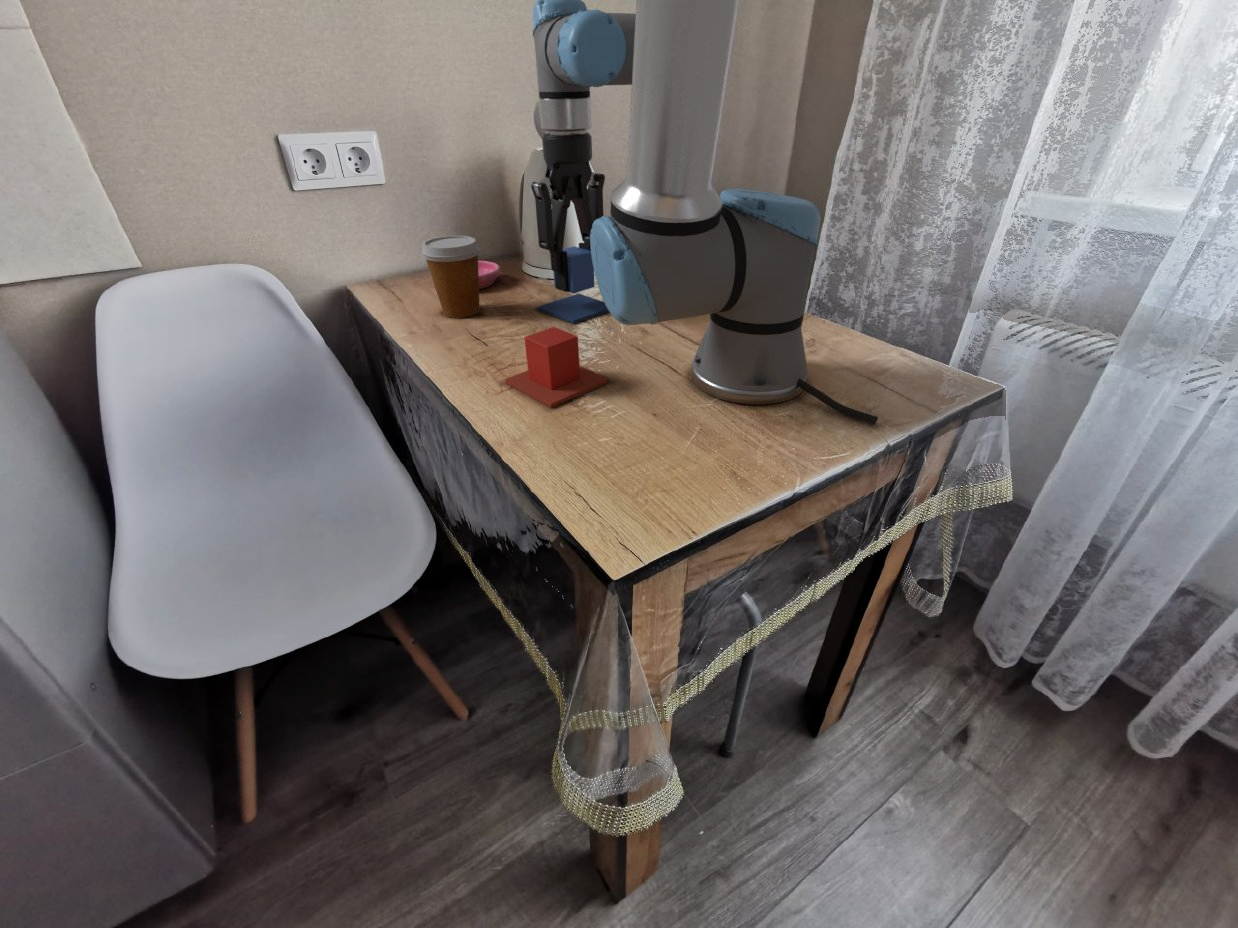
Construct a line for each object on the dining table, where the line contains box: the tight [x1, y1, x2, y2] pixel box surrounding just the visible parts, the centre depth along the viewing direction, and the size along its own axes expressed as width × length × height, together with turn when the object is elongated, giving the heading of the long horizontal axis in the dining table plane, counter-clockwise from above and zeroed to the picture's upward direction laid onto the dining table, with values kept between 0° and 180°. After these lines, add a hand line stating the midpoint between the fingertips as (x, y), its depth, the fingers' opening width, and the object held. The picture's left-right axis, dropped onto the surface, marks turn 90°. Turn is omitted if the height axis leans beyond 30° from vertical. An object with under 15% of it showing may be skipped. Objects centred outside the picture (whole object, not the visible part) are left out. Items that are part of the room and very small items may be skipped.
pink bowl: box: [478, 260, 501, 290], centre depth 112 cm, size 12×12×3 cm
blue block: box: [552, 245, 595, 294], centre depth 96 cm, size 5×5×6 cm
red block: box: [523, 326, 581, 390], centre depth 74 cm, size 5×5×6 cm
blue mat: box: [536, 293, 610, 324], centre depth 100 cm, size 10×10×1 cm
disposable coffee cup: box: [421, 235, 481, 319], centre depth 96 cm, size 10×10×12 cm
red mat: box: [504, 365, 609, 409], centre depth 76 cm, size 10×10×1 cm
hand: (575, 285), depth 98 cm, fingers closed on blue block, 5 cm apart
